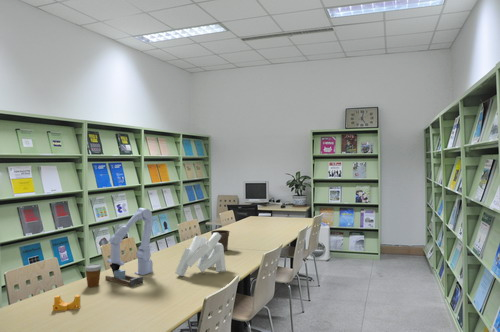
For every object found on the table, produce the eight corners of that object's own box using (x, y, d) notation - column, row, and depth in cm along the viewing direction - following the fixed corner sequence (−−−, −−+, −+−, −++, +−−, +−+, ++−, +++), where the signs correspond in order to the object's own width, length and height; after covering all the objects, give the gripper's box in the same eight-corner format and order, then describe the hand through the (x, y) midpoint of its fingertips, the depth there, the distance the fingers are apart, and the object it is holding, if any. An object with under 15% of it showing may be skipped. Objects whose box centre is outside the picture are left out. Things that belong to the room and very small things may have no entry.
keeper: (120, 278, 248) (120, 269, 248) (125, 279, 246) (125, 270, 246) (113, 280, 244) (113, 271, 244) (118, 281, 241) (118, 272, 241)
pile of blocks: (197, 291, 239) (223, 241, 241) (164, 267, 253) (189, 220, 255) (222, 290, 270) (245, 246, 272) (191, 268, 284) (214, 226, 286)
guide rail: (116, 276, 253) (116, 270, 253) (143, 282, 239) (143, 276, 239) (105, 279, 246) (105, 273, 246) (131, 286, 232) (131, 280, 232)
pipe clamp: (52, 311, 194) (52, 298, 194) (56, 307, 198) (56, 295, 198) (77, 310, 195) (77, 297, 195) (80, 307, 199) (80, 294, 199)
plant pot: (208, 249, 334) (208, 230, 334) (225, 247, 341) (225, 229, 341) (214, 253, 319) (214, 233, 319) (232, 251, 326) (232, 232, 326)
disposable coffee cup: (83, 288, 228) (83, 268, 228) (85, 283, 237) (85, 264, 237) (100, 287, 230) (100, 267, 230) (102, 282, 240) (102, 263, 240)
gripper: (103, 253, 248) (103, 274, 248) (117, 256, 240) (117, 278, 240) (112, 251, 254) (112, 272, 254) (126, 254, 246) (126, 275, 246)
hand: (115, 274), depth 247 cm, fingers closed
